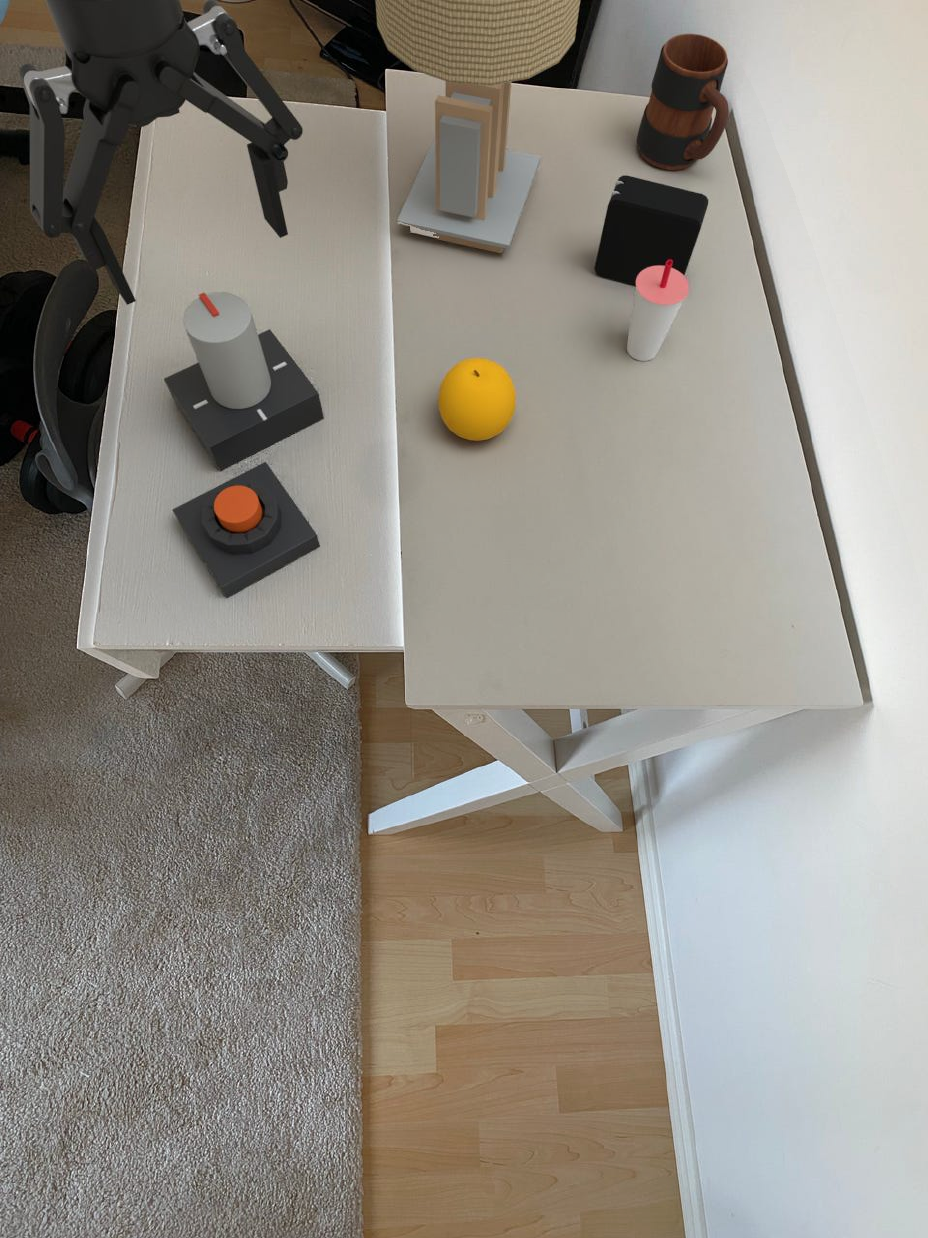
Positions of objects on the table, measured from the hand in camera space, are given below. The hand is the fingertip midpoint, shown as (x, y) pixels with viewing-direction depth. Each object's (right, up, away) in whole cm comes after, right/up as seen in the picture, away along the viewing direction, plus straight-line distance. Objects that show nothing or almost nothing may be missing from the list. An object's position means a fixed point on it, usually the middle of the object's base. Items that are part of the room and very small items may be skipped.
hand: (202, 258), depth 64 cm
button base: (+1, -21, +12) cm, 24 cm away
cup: (+41, 0, +23) cm, 47 cm away
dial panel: (-1, -8, +18) cm, 20 cm away
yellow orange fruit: (+23, -9, +18) cm, 30 cm away
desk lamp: (+22, +21, +32) cm, 44 cm away
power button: (+1, -20, +9) cm, 21 cm away
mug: (+48, +29, +36) cm, 67 cm away
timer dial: (-1, -6, +14) cm, 15 cm away
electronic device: (+42, +11, +28) cm, 51 cm away
